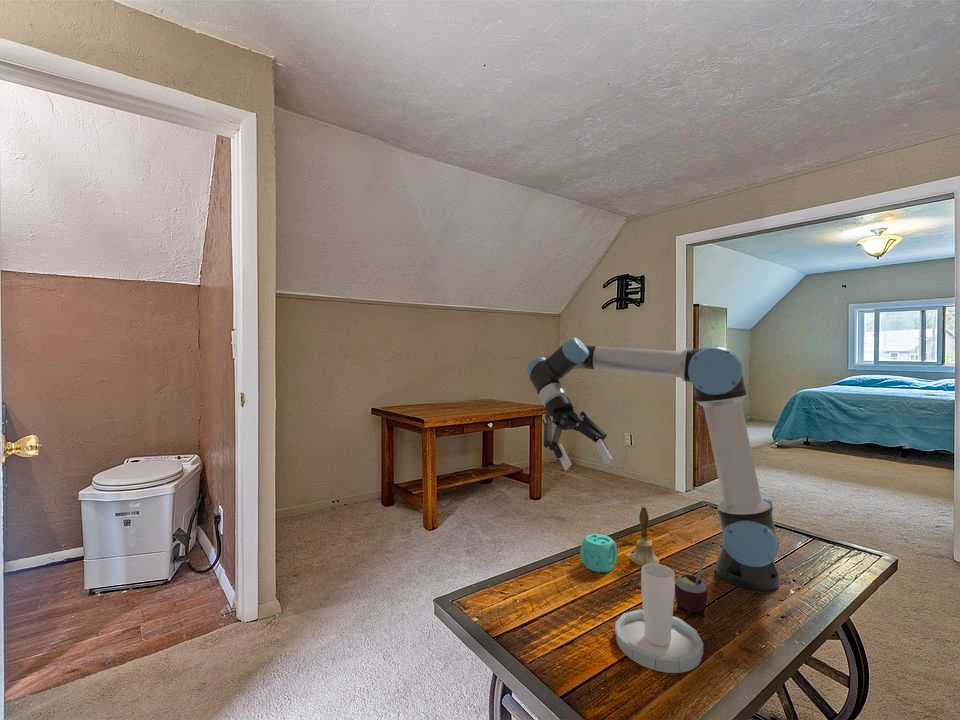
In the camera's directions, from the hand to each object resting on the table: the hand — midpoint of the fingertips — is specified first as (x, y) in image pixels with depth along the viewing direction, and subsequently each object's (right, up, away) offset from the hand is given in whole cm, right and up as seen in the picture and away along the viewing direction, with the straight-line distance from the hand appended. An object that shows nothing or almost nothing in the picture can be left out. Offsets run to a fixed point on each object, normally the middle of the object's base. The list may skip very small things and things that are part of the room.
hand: (589, 464), depth 120 cm
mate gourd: (+22, -33, -11) cm, 41 cm away
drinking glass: (+9, -32, -23) cm, 41 cm away
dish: (+9, -33, -23) cm, 41 cm away
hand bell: (+20, -33, +16) cm, 41 cm away
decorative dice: (+6, -33, +12) cm, 35 cm away
